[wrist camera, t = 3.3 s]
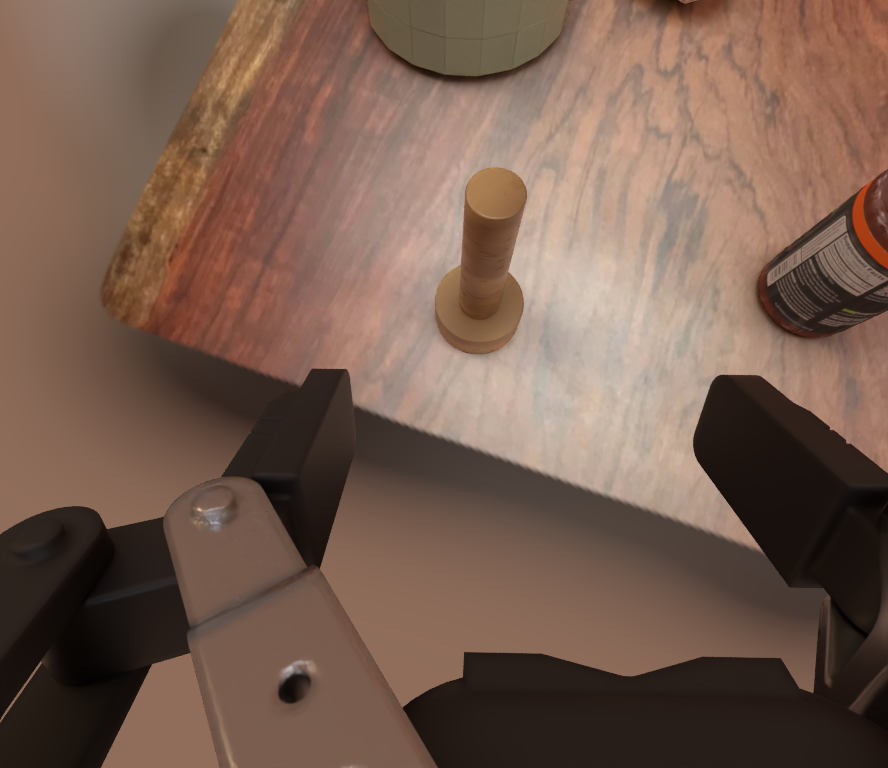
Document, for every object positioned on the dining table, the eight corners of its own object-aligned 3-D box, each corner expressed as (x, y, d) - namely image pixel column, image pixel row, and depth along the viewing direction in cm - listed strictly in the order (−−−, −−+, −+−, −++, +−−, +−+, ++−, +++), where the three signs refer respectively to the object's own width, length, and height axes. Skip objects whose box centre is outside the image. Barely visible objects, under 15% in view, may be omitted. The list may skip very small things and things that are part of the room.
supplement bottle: (820, 245, 30) (1034, 93, 19) (867, 326, 28) (1129, 212, 18) (736, 268, 30) (905, 126, 19) (779, 352, 28) (991, 251, 17)
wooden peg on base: (418, 319, 29) (401, 200, 18) (471, 262, 30) (485, 116, 19) (483, 370, 28) (508, 277, 17) (535, 309, 29) (590, 184, 18)
